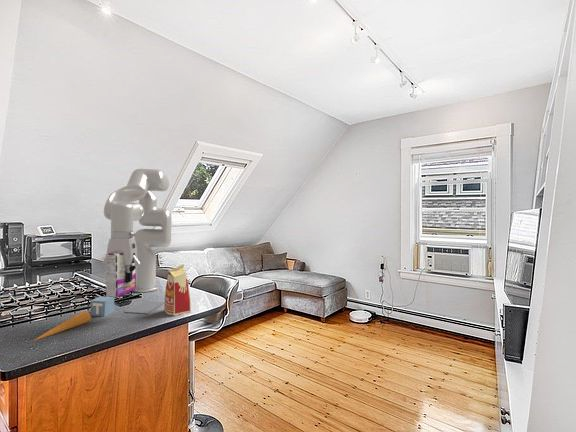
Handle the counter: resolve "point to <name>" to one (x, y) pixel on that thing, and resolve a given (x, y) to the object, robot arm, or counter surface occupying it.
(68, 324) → the carrot
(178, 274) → the milk carton
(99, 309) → the letter cube
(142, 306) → the mat
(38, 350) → the counter surface
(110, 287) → the candy bar box
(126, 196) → the robot arm
